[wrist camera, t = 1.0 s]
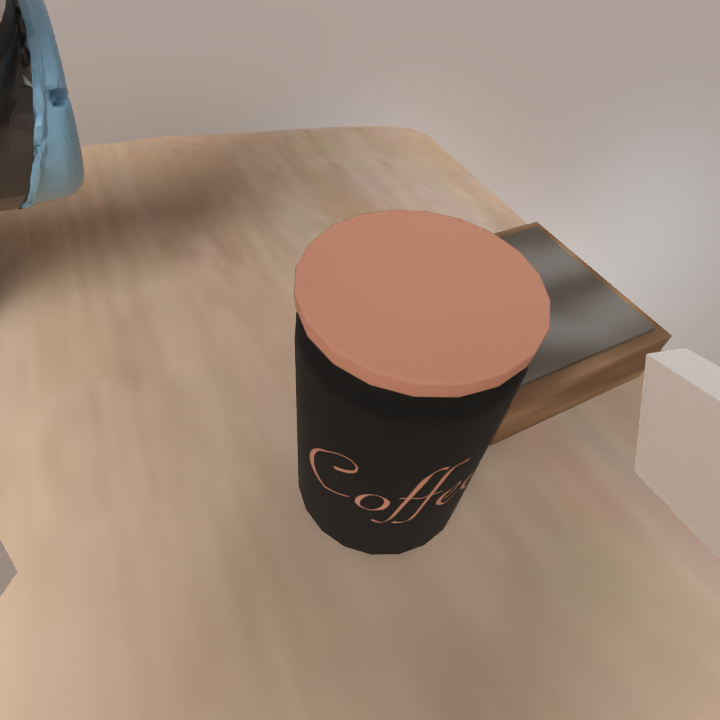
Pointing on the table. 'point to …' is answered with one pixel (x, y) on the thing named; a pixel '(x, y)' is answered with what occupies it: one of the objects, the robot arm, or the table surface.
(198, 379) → the table surface
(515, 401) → the walnut stand
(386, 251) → the coffee jar
